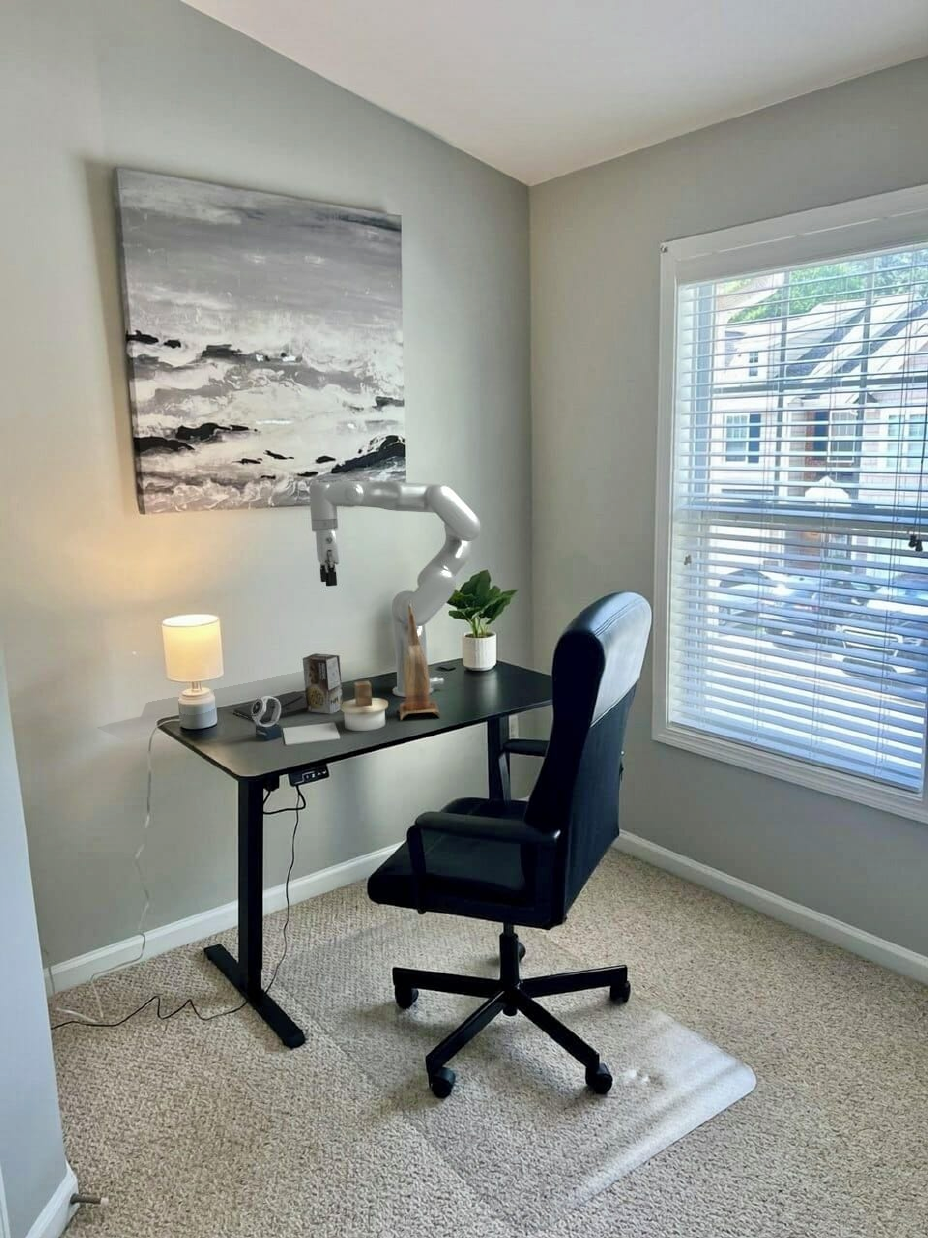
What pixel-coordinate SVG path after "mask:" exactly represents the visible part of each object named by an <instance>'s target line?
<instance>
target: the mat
mask: <svg viewBox="0 0 928 1238" xmlns="http://www.w3.org/2000/svg"><path fill="white" fill-rule="evenodd" d="M282 731H283V732H282V733H283V738H284V741H285V746H295V745H302V744H309V743H311V744H312V743H318V742H319V743H320V742H327V741H328V742H329V741H335V740H337V741H338V740H341V736H340V733H339V731H338V728H337V726H336V723H335V722H327V723H319V724H311V725H310V724H309V725H300V726H293V727H292V726H291V727H285V728H284V727H283V728H282Z"/></svg>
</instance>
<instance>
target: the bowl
mask: <svg viewBox="0 0 928 1238" xmlns="http://www.w3.org/2000/svg"><path fill="white" fill-rule="evenodd" d="M385 710H386V709H384V710H382V711H379V712H375V713H369V714H348V713H344V712H343V714H344V715H343V716H344V727H345V729H346V730H350V731H354V732H367V731H374V730H378V729H380V728H383V727H385V725H386V714H385V713H386V712H385Z"/></svg>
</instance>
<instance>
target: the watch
mask: <svg viewBox="0 0 928 1238" xmlns="http://www.w3.org/2000/svg"><path fill="white" fill-rule="evenodd" d="M276 698H277V697H273V696H270V695H264V696H261V697H259V698H257V699H255V701H254V702H253V703H252V704H253V705H252V707H251V715H252V718H253V720H254V723H255V724H256V725H255V735H256V738H258V737H259V738H258V739H261V740H264V741H267V742H269V741H272V740H276V739H279V738H283V737H282V736H283V735H282V725H281V724H277V723H278V722H279V720H280V719H279V717H280V713H281V704H280V702H279V701H278V700H277V699H276ZM271 699H273V700H274V702H275V704H276V705H275V708H274V713H273V716H272V718H271V719H272V720H271V721H270V722H266V723H262V724H261V723H260V722H259V720H260V719H261V716H262V715H263V714H264V712H265V711H266V703H267V700H271ZM253 720H252V721H253Z"/></svg>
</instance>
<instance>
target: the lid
mask: <svg viewBox="0 0 928 1238" xmlns="http://www.w3.org/2000/svg"><path fill="white" fill-rule="evenodd" d="M353 684H354V698H353V699H350V700H346V701H343V703H342V704H341V705H340V710H339V711H341V712H342V713H343V714H344V713H348V714H369V713H375V712H379V711H382V710H384V709H385V710H386V709H387V708H388V707H389V702H388V701H387V700H386V699H383V698H379V697H373V696H372V695H373V694H372V683H371V682H370V680H363V681H354V683H353Z"/></svg>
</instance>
